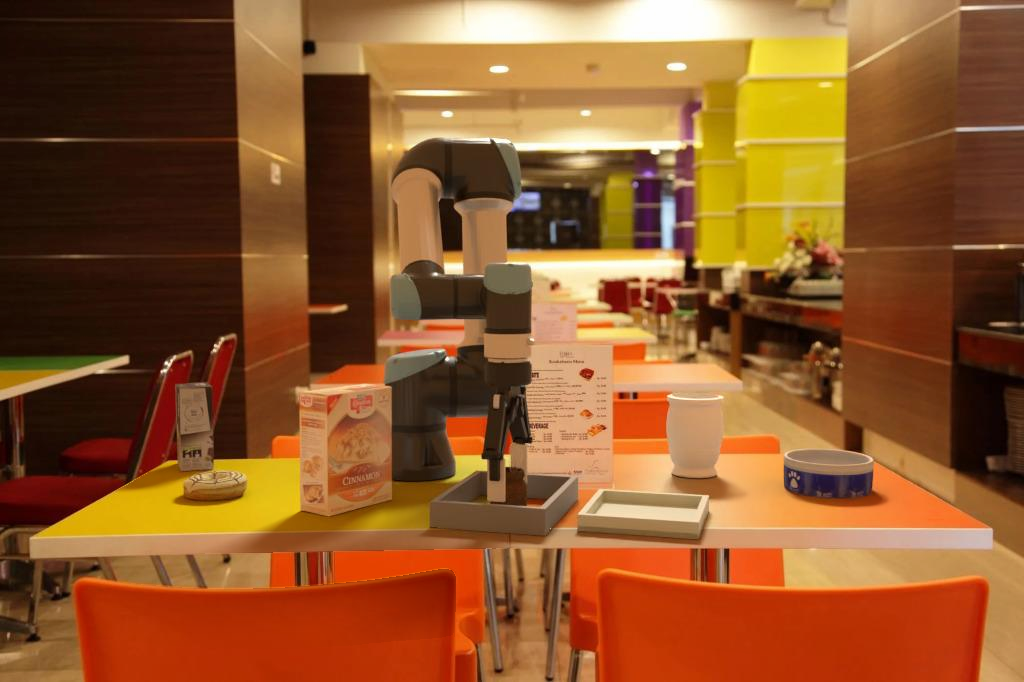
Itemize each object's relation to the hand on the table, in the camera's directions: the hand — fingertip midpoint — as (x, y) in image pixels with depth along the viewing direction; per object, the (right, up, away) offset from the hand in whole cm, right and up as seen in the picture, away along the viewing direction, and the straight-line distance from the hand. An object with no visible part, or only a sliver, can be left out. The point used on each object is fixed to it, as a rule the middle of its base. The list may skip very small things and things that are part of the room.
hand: (508, 492), depth 169 cm
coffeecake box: (-27, -3, +6) cm, 27 cm away
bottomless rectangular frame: (0, -3, 0) cm, 3 cm away
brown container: (0, -4, 0) cm, 4 cm away
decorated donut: (-50, -3, +13) cm, 52 cm away
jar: (+35, -1, +30) cm, 46 cm away
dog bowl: (+57, -2, +18) cm, 60 cm away
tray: (+22, -4, -4) cm, 22 cm away
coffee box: (-61, -1, +38) cm, 72 cm away
